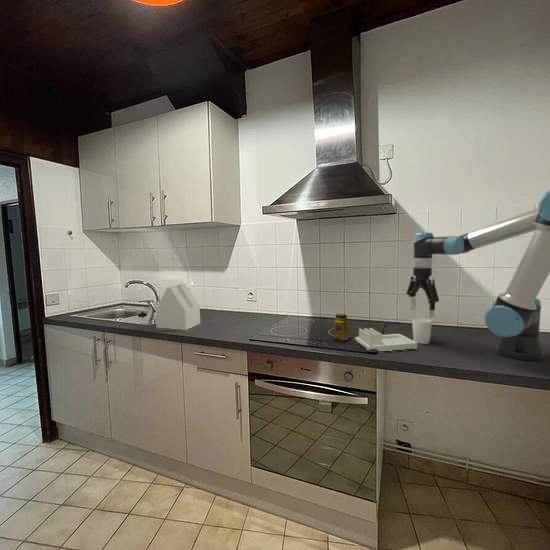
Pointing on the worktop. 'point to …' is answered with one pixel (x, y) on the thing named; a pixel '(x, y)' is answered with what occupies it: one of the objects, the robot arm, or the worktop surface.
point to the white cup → (421, 330)
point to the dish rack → (384, 341)
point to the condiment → (341, 326)
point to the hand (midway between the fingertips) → (421, 313)
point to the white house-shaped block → (177, 309)
